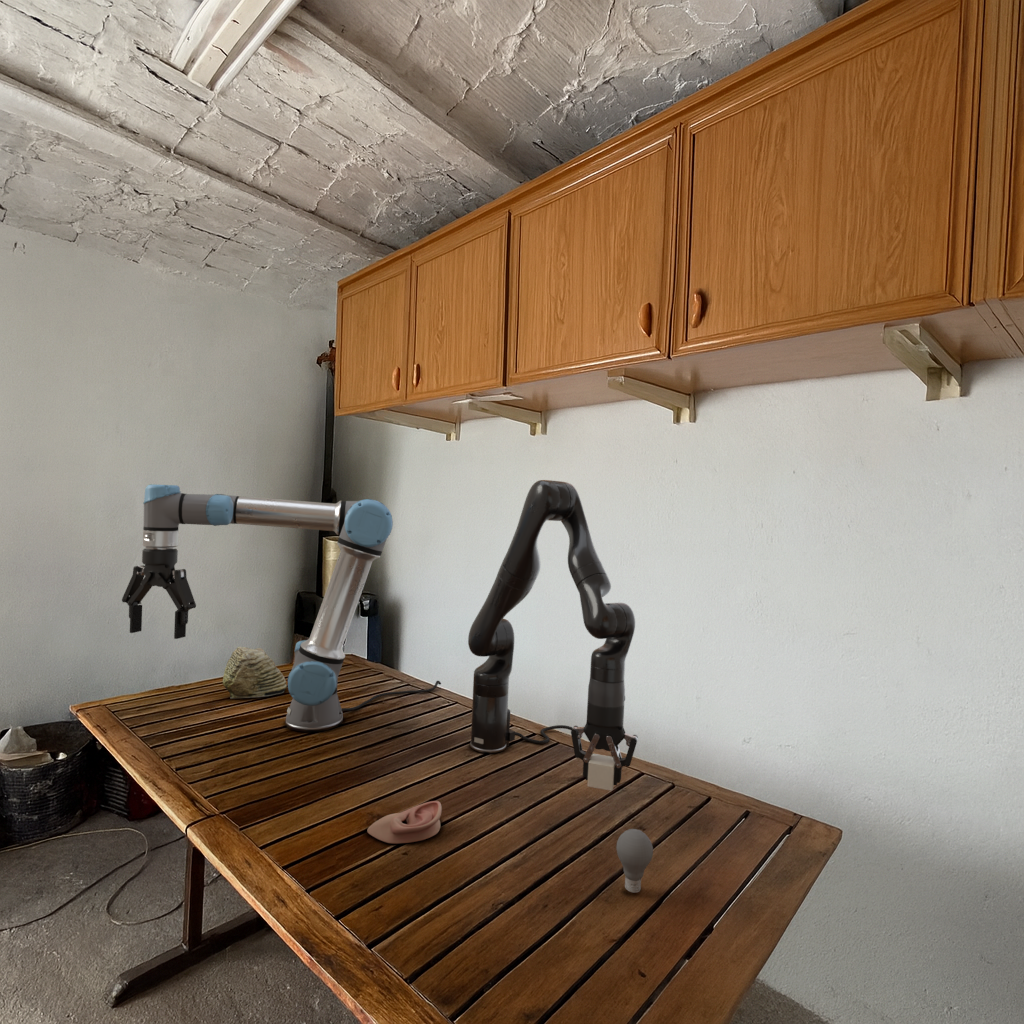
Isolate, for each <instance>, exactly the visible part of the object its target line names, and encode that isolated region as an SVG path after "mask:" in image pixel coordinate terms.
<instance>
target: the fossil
mask: <svg viewBox="0 0 1024 1024" xmlns="http://www.w3.org/2000/svg"><path fill="white" fill-rule="evenodd" d="M222 676H223V677H222V685H223V687H224V688H225V690H226V691H228V693H229V698H230V699H250V698H264V697H271V696H275V695H281V694H284V693H285V691H286V689H287V688H288V684H287V680H286V678H285V676H284V674H283V673H282V672H281V669H279V668H278V667H277V665H276V663H275V662H274V660H273V659H272V658H271V657H270V656H269V655H268V654H267V653H266V652H265V650H264V649H263V648H260V647H258V648H251V647H247V646H246V647H245V646H238V647H237V648H236V649H235V650H233V651H232V653H231V656H230V657H229V659H228V660H227V663H226V666H225V668H224V671H223V675H222Z"/></svg>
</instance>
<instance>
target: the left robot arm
mask: <svg viewBox="0 0 1024 1024" xmlns="http://www.w3.org/2000/svg"><path fill="white" fill-rule="evenodd" d="M230 524H231V525H246V526H247V525H249V526H261V527H274V528H275V527H276V528H285V529H286V528H288V529H299V530H300V529H301V530H312V531H313V530H315V531H328V532H334V533H335V534H336V535H337V536H338V539H337V542H336V544H337V546H338V548H339V554H338V557H337V559H336V562H335V565H334V568H333V571H332V574H331V577H330V579H329V582H328V585H327V587H326V590H325V593H324V596H323V598H322V602H321V604H320V607H319V610H318V613H317V616H316V619H315V621H314V624H313V627H312V630H311V633H310V636H309V638H308V639H303V640H299V641H297V642H296V643H295V648H294V650H293V651H294V662H293V665H292V667H291V671H290V672H289V674H288V677H287V680H286V685H287V690H288V693H289V695H290V696H291V697H292V699H291V702H290V704H289V706H288V707H287V710H286V712H287V713H286V715H285V726H286V728H287V729H289V730H291V731H294V732H295V731H296V732H301V733H316V732H325V731H329V730H332V729H335V728H337V727H339V726H340V725H342V723H343V722H344V714H343V712H352V711H355V710H358V709H360V708H362V707H364V706H365V705H367V704H369V703H371V702H372V701H374V700H376V699H377V698H381V697H384V696H392V695H405V694H422V693H429V692H432V691H434V690H435V689H437V688H438V685H442V682H441V681H440V680H436V681H435V684H434V685H433V687H431V688H427V689H414V690H413V689H411V690H410V689H409V690H400V691H399V690H398V691H389V692H382V693H379V694H376V695H374V696H372V697H370V698H369V699H367V700H365V701H363V702H362V703H360V704H358V705H355V706H353V707H343V708H342V706H341V702H340V699H339V695H338V682H339V681H338V680H339V676H340V673H341V669H342V667H343V664H344V661H345V658H346V654H345V653H344V650H343V646H344V644H345V640H346V638H347V636H348V632H349V630H350V626H351V624H352V621H353V618H354V615H355V612H356V609H357V607H358V604H359V601H360V598H361V595H362V593H363V590H364V588H365V584H366V581H367V578H368V575H369V573H370V569H371V566H372V564H373V562H374V561H375V560H377V559H380V558H381V556H382V553H383V550H384V547H385V545H386V542H387V539H388V538H389V536H390V535H391V533H392V530H393V525H394V522H393V515H392V513H391V511H390V509H389V508H388V506H386V505H385V504H384V503H383V502H380V501H378V500H377V499H371V498H366V499H361V500H339V501H337V502H336V503H332V502H320V501H319V502H318V501H307V500H306V501H304V500H293V499H280V498H268V497H255V496H244V495H243V496H242V495H240V496H239V495H229V494H224V493H215V494H203V493H202V494H201V493H183V492H182V491H181V487H180V486H179V485H175V484H157V483H156V484H155V483H152V484H148V485H146V487H145V488H144V499H143V528H142V529H143V530H142V531H143V532H142V546H143V547H144V548H143V549H142V551H141V552H142V553H141V554H142V555H141V563H142V564H143V565H135V566H133V569H132V575H131V577H130V580H129V582H128V584H127V587H126V589H125V591H124V593H123V595H122V598H121V602H122V603H126V604H127V606H128V618H129V633H130V634H134V633H139V632H142V627H143V626H142V625H143V623H142V622H143V604H142V601H143V599H144V598H146V595H147V594H148V593H149V591H150V590H151V589H152V588H153V587H158V588H162V589H164V590H165V591H166V592H167V594H168V596H169V597H170V600H171V601H172V602H173V604H174V605H175V607H176V611H175V612H174V631H173V632H174V633H173V639H174V640H178V639H182V638H186V635H187V633H186V632H187V625H188V623H189V611H190V610H192V609H196V607H197V603H196V601H195V598H194V595H193V592H192V589H191V586H190V585H189V582H188V577H187V570H186V569H185V568H181V569H176V568H175V566H176V564H177V563H178V555H179V550H178V548H176V547H178V546H179V525H200V526H203V525H204V526H213V527H219V526H229V525H230Z"/></svg>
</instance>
